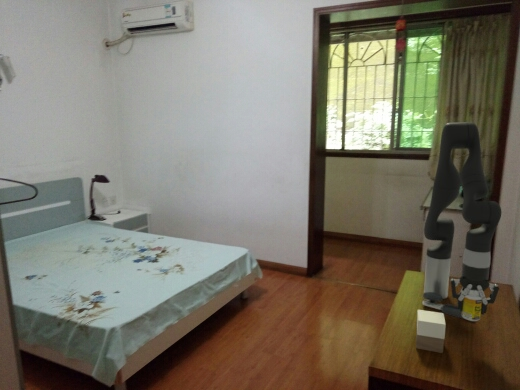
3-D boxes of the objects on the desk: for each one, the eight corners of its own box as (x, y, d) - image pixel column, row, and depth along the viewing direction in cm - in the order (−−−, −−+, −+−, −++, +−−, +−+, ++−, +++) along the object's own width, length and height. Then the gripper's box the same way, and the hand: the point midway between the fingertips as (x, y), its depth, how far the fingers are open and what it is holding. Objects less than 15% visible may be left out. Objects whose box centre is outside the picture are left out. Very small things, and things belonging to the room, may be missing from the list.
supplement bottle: (474, 323, 124) (477, 293, 122) (457, 316, 129) (460, 287, 127) (483, 318, 127) (487, 289, 125) (466, 311, 132) (469, 283, 130)
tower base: (416, 336, 136) (417, 323, 135) (441, 341, 133) (442, 327, 132) (415, 348, 128) (416, 334, 127) (442, 353, 125) (444, 339, 124)
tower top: (416, 323, 135) (417, 309, 134) (442, 327, 132) (443, 313, 131) (417, 334, 127) (418, 320, 126) (444, 339, 125) (445, 324, 124)
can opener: (419, 308, 156) (421, 293, 155) (423, 303, 160) (424, 289, 159) (473, 322, 144) (474, 306, 143) (476, 317, 148) (477, 301, 147)
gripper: (500, 261, 125) (494, 310, 128) (450, 256, 131) (446, 303, 134) (504, 270, 118) (498, 321, 122) (451, 263, 124) (447, 313, 127)
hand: (471, 311), depth 128 cm, fingers closed on supplement bottle, 5 cm apart
